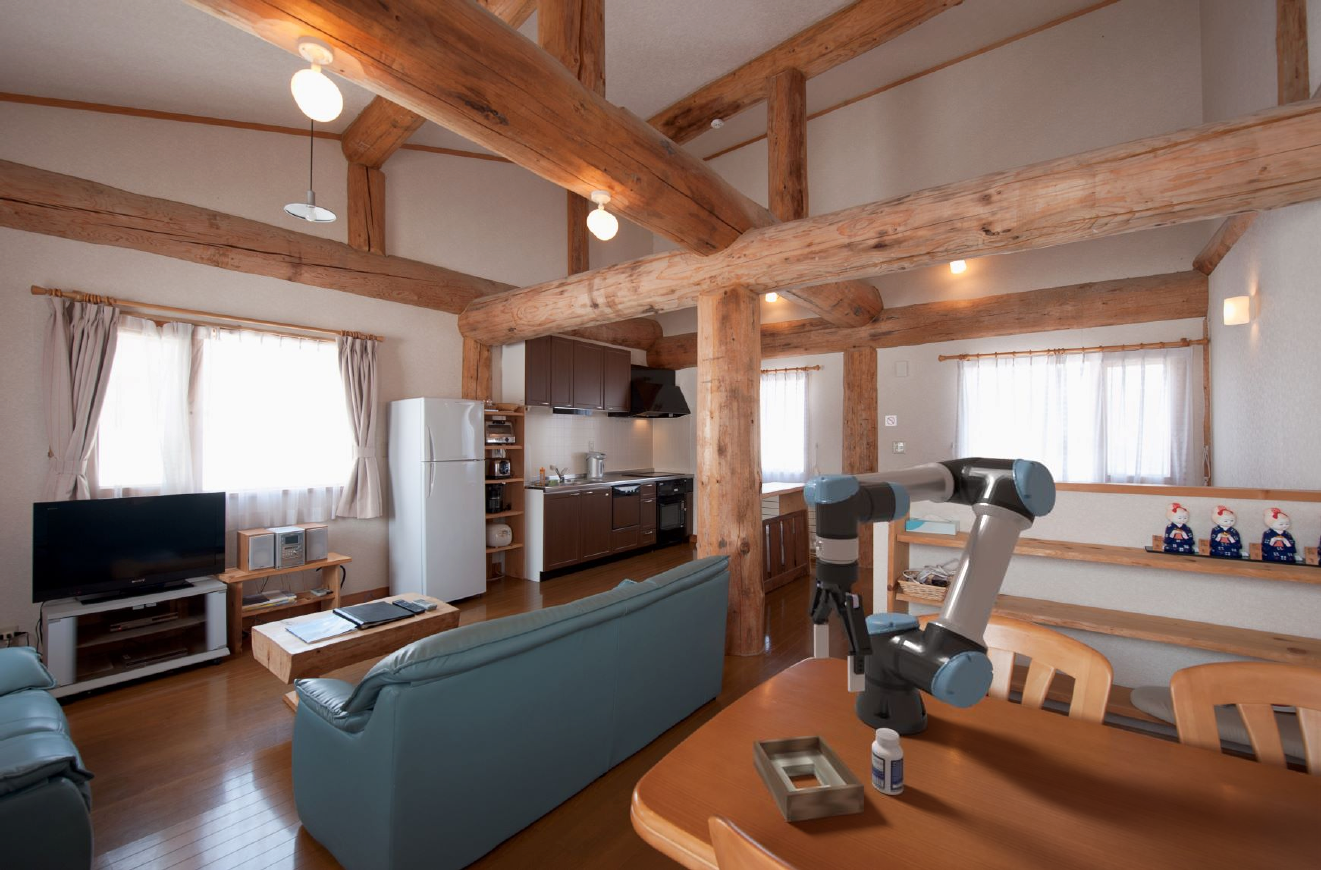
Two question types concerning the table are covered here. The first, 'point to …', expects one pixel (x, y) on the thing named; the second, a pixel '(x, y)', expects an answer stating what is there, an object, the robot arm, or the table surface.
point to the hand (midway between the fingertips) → (837, 673)
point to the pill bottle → (887, 762)
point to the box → (805, 758)
